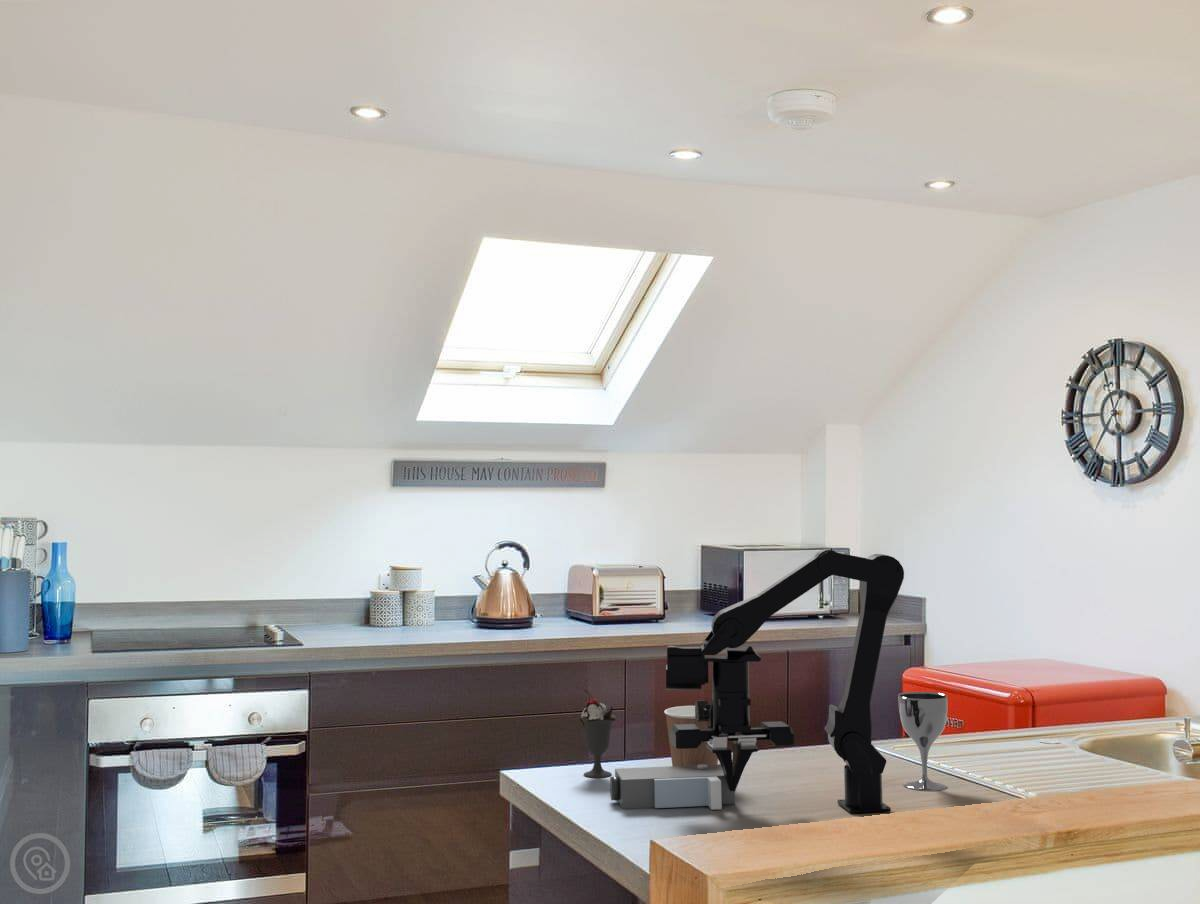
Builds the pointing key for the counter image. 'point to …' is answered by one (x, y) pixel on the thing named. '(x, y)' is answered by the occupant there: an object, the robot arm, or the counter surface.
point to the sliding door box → (639, 782)
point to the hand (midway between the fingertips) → (732, 790)
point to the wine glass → (923, 728)
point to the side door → (688, 792)
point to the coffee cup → (694, 754)
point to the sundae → (596, 733)
